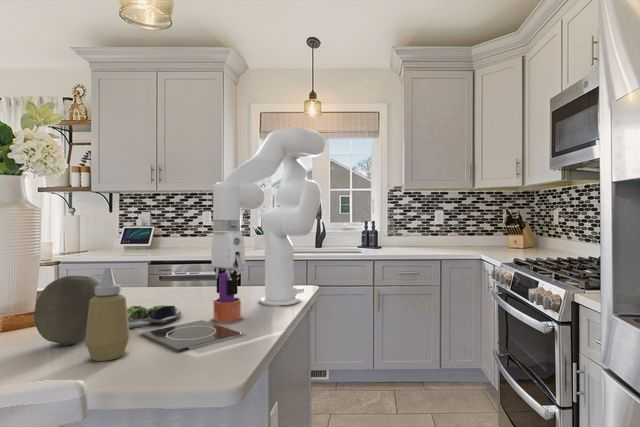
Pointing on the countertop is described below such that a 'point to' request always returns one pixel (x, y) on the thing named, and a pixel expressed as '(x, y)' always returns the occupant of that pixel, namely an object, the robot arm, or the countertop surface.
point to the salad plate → (152, 315)
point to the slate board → (189, 335)
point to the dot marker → (224, 289)
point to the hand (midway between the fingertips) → (226, 292)
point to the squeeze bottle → (107, 321)
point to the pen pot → (227, 310)
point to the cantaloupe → (65, 309)
